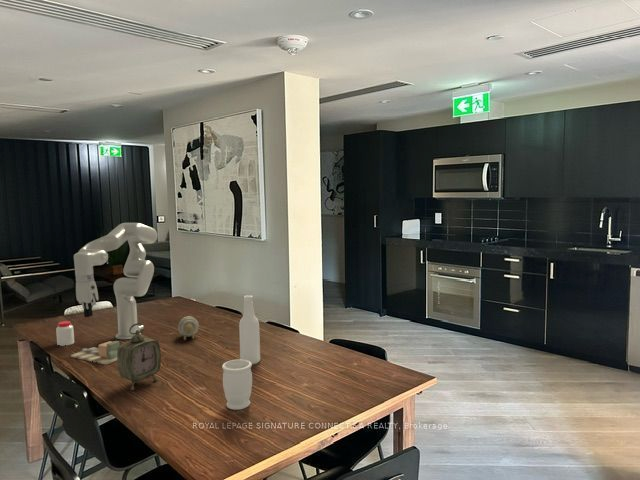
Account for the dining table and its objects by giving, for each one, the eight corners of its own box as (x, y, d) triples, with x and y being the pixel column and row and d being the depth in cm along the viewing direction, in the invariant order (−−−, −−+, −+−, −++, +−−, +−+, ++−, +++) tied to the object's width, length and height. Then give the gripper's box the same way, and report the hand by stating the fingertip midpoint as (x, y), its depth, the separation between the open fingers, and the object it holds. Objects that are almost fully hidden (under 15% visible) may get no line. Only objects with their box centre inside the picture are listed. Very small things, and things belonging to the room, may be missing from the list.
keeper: (99, 357, 214) (98, 345, 214) (110, 352, 220) (109, 341, 219) (106, 358, 212) (105, 346, 211) (117, 354, 217) (116, 342, 217)
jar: (225, 399, 172) (224, 359, 170) (253, 397, 172) (252, 358, 171) (221, 412, 161) (220, 370, 159) (252, 410, 162) (250, 369, 160)
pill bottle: (66, 346, 234) (65, 324, 233) (53, 345, 236) (52, 324, 235) (77, 341, 242) (76, 320, 241) (64, 340, 243) (63, 320, 242)
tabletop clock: (131, 393, 178) (127, 329, 175) (116, 388, 182) (112, 326, 180) (162, 380, 190) (158, 320, 187) (147, 375, 195) (144, 317, 192)
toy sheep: (180, 343, 237) (179, 321, 236) (176, 333, 252) (175, 313, 251) (201, 340, 241) (200, 319, 240) (196, 331, 256) (195, 311, 255)
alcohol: (252, 356, 215) (250, 293, 212) (264, 361, 209) (262, 295, 206) (236, 361, 209) (234, 296, 206) (248, 366, 203) (245, 299, 200)
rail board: (70, 356, 219) (69, 340, 218) (93, 349, 229) (92, 333, 229) (105, 364, 208) (104, 347, 207) (127, 356, 219) (126, 339, 218)
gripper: (102, 278, 218) (106, 316, 221) (81, 275, 225) (85, 312, 227) (88, 281, 211) (92, 320, 214) (67, 278, 218) (70, 316, 221)
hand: (88, 316), depth 221 cm, fingers closed
